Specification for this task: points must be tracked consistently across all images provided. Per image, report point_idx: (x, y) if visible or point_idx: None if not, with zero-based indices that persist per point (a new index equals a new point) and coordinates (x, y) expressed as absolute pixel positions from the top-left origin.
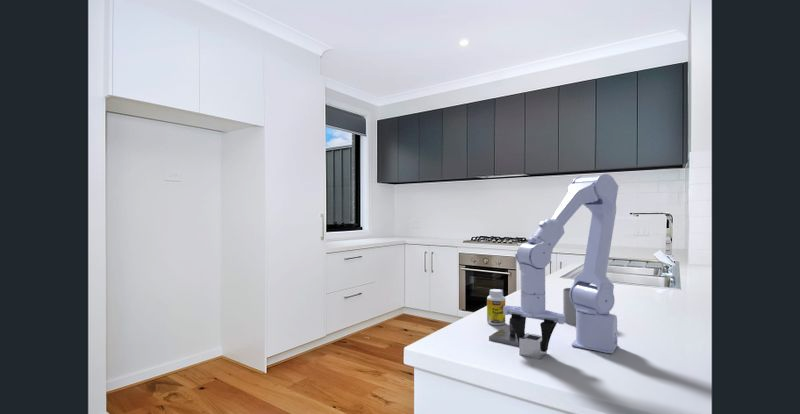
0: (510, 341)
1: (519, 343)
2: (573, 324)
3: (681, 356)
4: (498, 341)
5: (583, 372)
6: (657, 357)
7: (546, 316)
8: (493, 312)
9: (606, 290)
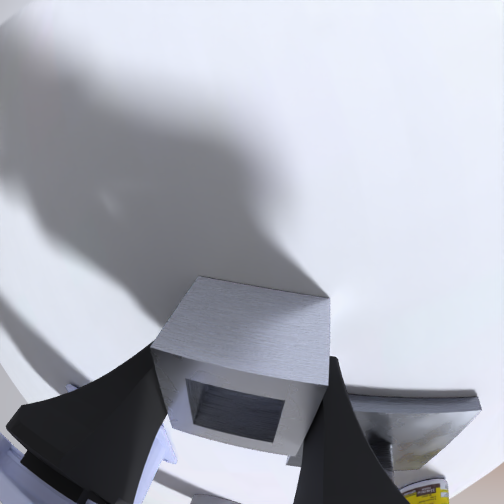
0: (390, 410)
1: (328, 351)
2: (224, 501)
3: (22, 382)
4: (442, 400)
5: (29, 210)
6: (29, 375)
7: (14, 500)
8: None
9: None
